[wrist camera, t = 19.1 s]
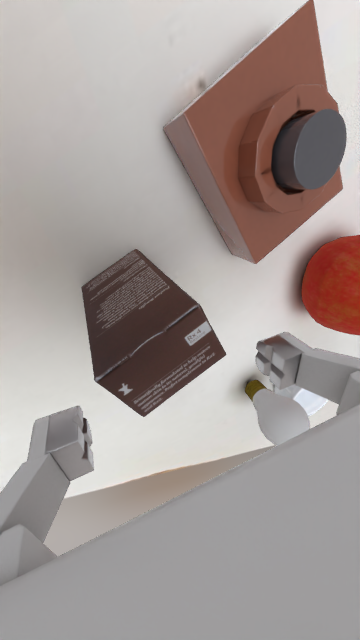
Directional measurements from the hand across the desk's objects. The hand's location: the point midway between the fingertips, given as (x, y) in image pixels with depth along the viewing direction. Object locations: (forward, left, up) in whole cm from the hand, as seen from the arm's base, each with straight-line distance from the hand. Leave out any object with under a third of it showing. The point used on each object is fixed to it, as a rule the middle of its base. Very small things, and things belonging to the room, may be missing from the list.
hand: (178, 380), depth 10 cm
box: (0, 0, -14) cm, 14 cm away
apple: (+16, +19, -14) cm, 28 cm away
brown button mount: (-1, +15, -14) cm, 20 cm away
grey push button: (-1, +15, -8) cm, 17 cm away
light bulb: (+24, +3, -14) cm, 28 cm away
